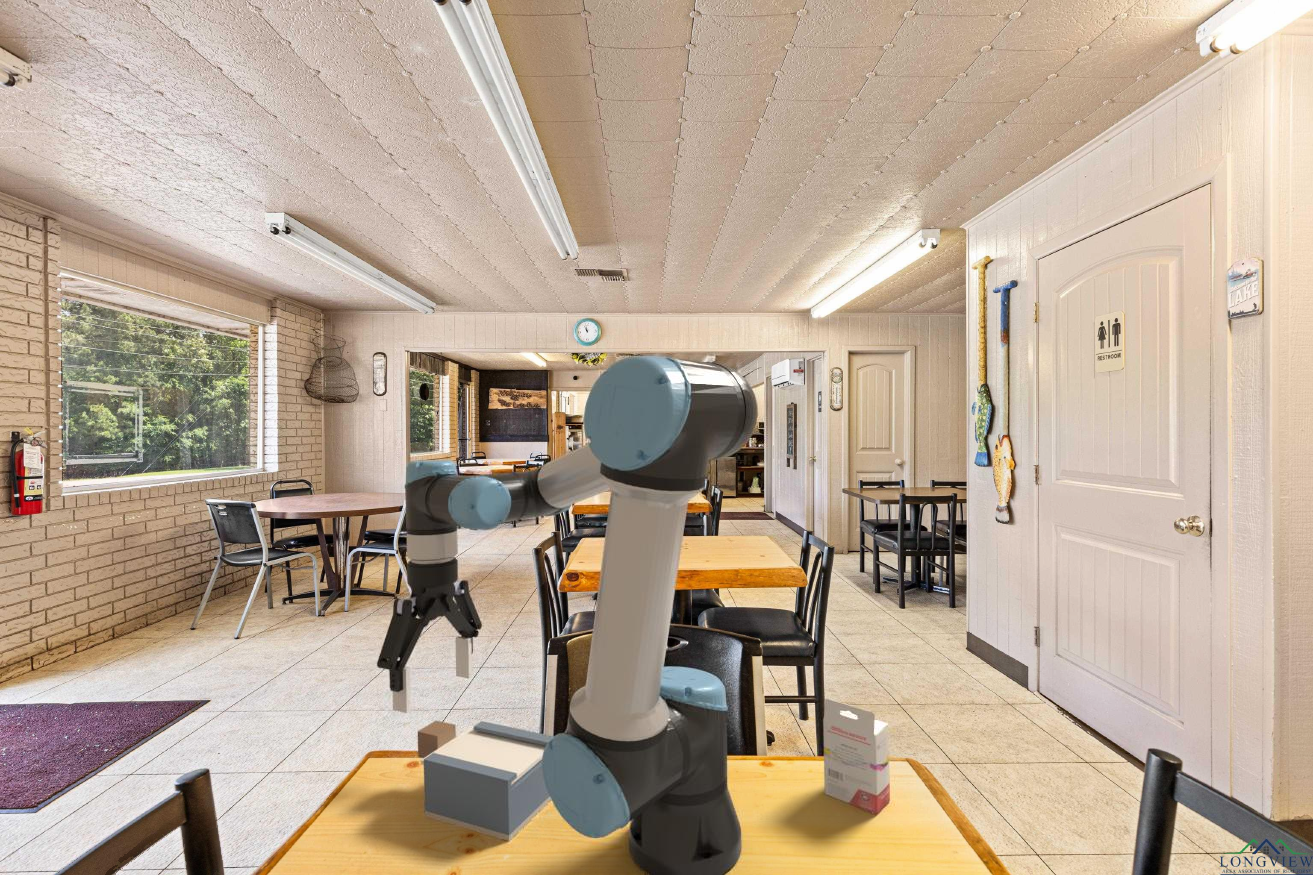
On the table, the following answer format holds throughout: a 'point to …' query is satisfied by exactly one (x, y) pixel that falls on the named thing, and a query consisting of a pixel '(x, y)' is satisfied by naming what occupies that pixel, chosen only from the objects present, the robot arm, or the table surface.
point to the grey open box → (485, 789)
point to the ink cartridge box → (856, 756)
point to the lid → (479, 748)
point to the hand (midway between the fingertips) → (434, 692)
